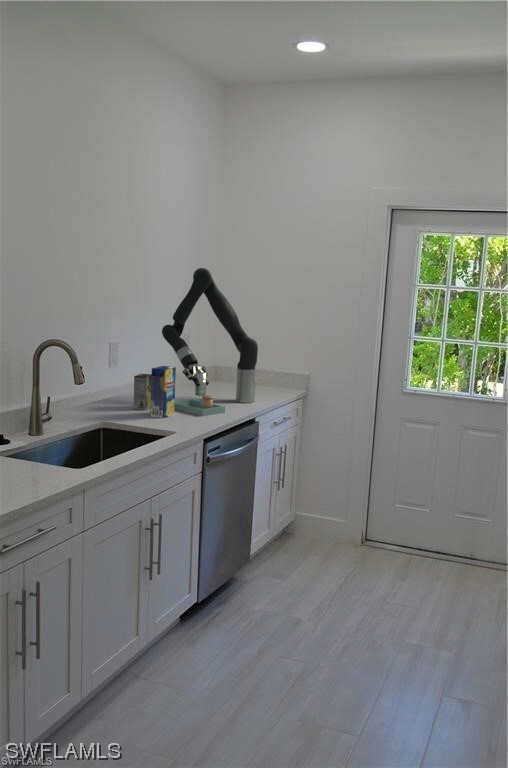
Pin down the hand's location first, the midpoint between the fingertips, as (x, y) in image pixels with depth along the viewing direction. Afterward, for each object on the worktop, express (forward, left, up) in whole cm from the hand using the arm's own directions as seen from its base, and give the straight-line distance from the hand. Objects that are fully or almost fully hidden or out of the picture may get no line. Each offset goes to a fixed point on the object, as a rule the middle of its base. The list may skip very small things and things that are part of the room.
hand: (203, 384), depth 365 cm
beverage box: (+29, +3, -11) cm, 32 cm away
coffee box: (+26, -14, -11) cm, 32 cm away
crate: (+11, +7, -11) cm, 17 cm away
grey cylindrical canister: (0, -2, -5) cm, 6 cm away
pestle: (+11, +14, -10) cm, 20 cm away
